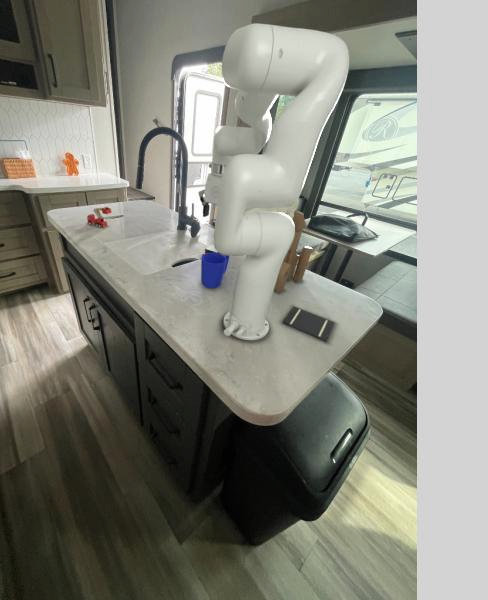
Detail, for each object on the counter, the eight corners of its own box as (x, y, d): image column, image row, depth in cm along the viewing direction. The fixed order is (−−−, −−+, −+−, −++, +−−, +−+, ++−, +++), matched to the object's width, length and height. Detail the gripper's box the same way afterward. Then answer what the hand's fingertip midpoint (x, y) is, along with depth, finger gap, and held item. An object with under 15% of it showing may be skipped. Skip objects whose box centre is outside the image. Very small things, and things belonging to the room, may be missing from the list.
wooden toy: (278, 293, 90) (300, 220, 76) (262, 284, 94) (280, 213, 80) (303, 280, 98) (327, 212, 84) (287, 273, 102) (308, 206, 88)
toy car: (223, 257, 111) (212, 253, 113) (224, 248, 108) (213, 244, 111) (213, 263, 105) (201, 259, 108) (214, 254, 103) (202, 250, 105)
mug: (234, 281, 95) (238, 255, 89) (212, 293, 87) (216, 266, 82) (216, 272, 99) (219, 247, 94) (194, 283, 92) (196, 257, 86)
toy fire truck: (91, 222, 134) (88, 202, 129) (113, 227, 130) (111, 207, 124) (86, 223, 132) (83, 203, 126) (108, 229, 127) (106, 209, 122)
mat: (325, 341, 72) (326, 340, 71) (282, 323, 77) (283, 321, 77) (333, 323, 79) (334, 322, 78) (293, 307, 84) (294, 306, 84)
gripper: (195, 166, 92) (192, 216, 102) (240, 175, 84) (231, 227, 94) (207, 164, 97) (203, 211, 107) (250, 172, 89) (241, 222, 99)
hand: (216, 219), depth 100 cm, fingers open, 9 cm apart
